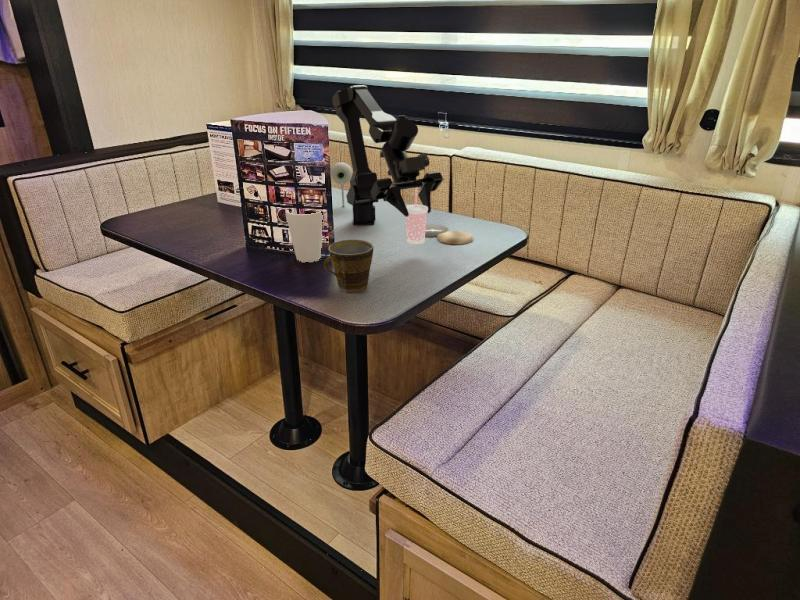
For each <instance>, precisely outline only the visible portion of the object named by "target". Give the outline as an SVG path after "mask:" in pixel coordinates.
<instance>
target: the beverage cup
mask: <svg viewBox="0 0 800 600" xmlns="http://www.w3.org/2000/svg"><path fill="white" fill-rule="evenodd" d="M414 191H415V192H414V204H408V205H406V208H407V210H408V214H409V215H408V217H406V216H404V217H405V229H406V230H405V231H406V242H407V243H408V244H410V245H421V244H424V243H425V242H426V236H425V231H426V224H427V218H428V217H427V215H428V207H427V206H425V205H423V204H418V187H416V188H414Z"/></svg>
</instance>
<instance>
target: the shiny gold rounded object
mask: <svg viewBox="0 0 800 600" xmlns="http://www.w3.org/2000/svg"><path fill="white" fill-rule="evenodd" d="M436 239H437V241H438V240H439V242H440V243H442V242H443V244H446V243H447V244H448V245H464V244H468V242H469V243H471V242H472V241H473V235H472V234H471V233H469V232H466V231H462V230H448V231H447V232H443V233H442V234H441V233H440V234H438V235H437V237H436ZM470 241H471V242H470ZM447 244H446V245H447Z"/></svg>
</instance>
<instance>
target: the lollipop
mask: <svg viewBox="0 0 800 600" xmlns="http://www.w3.org/2000/svg"><path fill="white" fill-rule="evenodd" d="M352 174H353V168H352V167H351V166H350V165H349V164H348V163H346V162H342V161H341V162H340V161H339V162H336V163H334V164H333V166H332V168H331V169H330V176H331V179H332V180H333V181H334V182H335V183H336V184H338V185H341V188H340V189H341V201H342V207H343V206H345V194H344V193H345V192H344V191H345V190H344V185H345V184H347V183H350V180H351V177H352Z"/></svg>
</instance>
